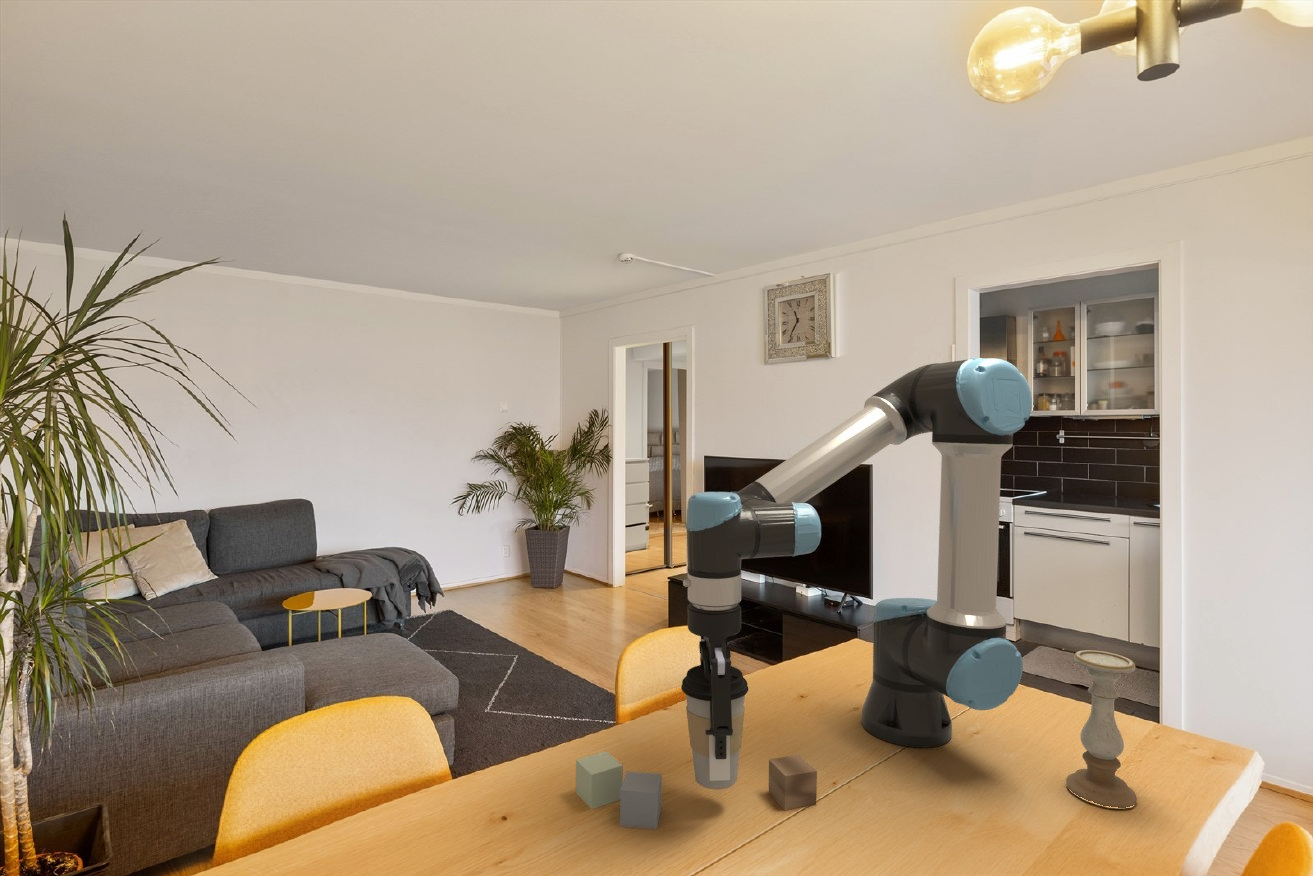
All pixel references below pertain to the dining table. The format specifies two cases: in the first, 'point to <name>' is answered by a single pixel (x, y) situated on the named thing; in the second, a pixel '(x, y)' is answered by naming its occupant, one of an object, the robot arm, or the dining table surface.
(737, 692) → the coffee cup
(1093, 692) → the candle holder
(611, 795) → the sage cube
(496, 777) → the dining table surface
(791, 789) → the walnut cube
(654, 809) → the slate cube
